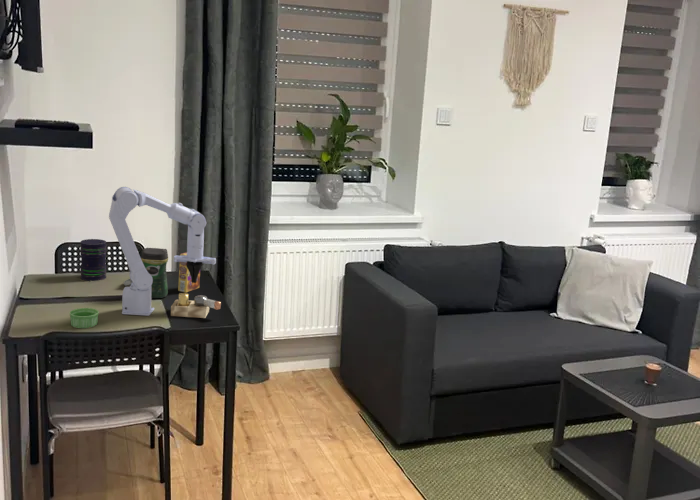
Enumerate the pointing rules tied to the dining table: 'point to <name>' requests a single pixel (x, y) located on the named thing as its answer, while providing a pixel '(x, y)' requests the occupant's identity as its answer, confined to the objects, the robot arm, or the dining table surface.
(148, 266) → the coffee jar
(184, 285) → the candy box
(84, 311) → the ramekin
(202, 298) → the copper tipped joystick
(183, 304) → the brass pin
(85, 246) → the storage jar
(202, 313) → the birch block
